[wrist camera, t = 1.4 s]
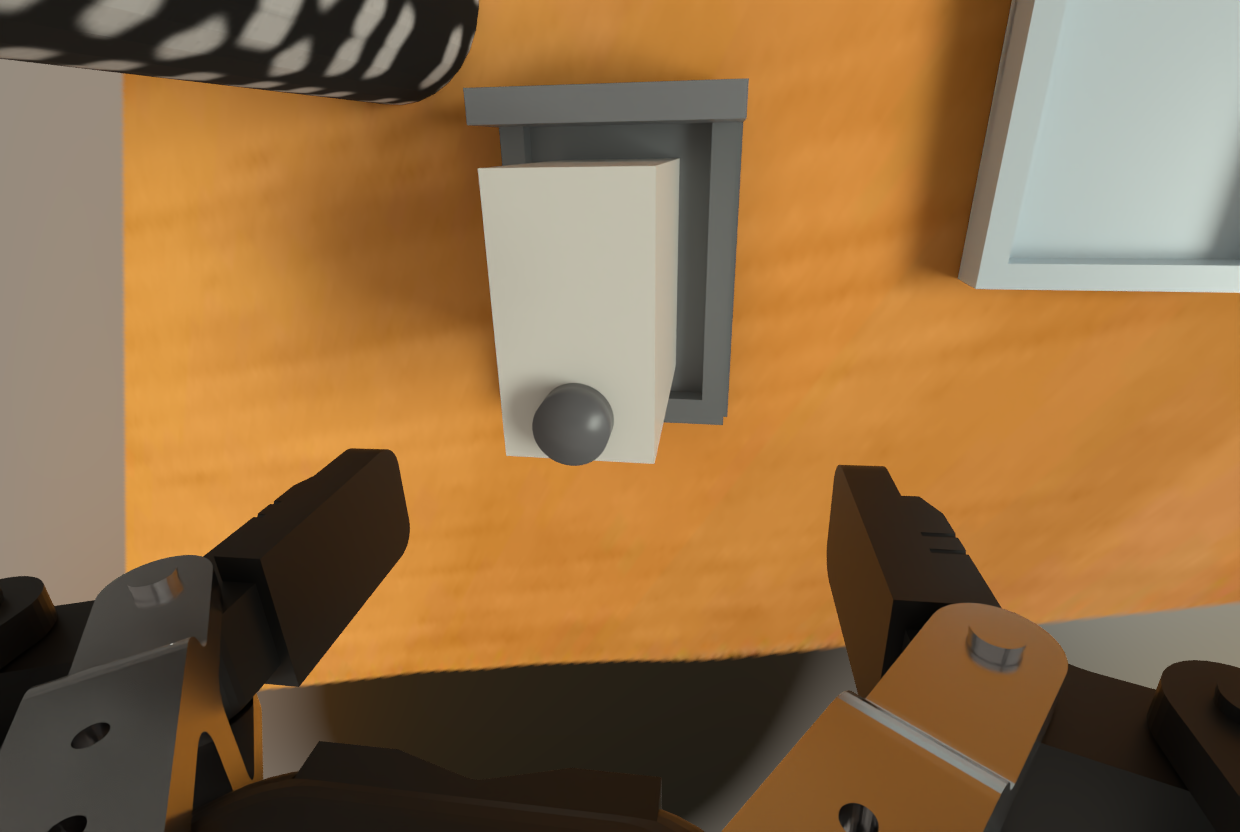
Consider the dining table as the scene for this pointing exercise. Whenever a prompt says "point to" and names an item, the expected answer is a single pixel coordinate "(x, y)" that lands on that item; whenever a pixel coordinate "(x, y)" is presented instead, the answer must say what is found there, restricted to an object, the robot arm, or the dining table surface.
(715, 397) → the bay
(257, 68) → the white-spotted black cylinder
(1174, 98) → the tray
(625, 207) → the white block with knob
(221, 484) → the dining table surface
